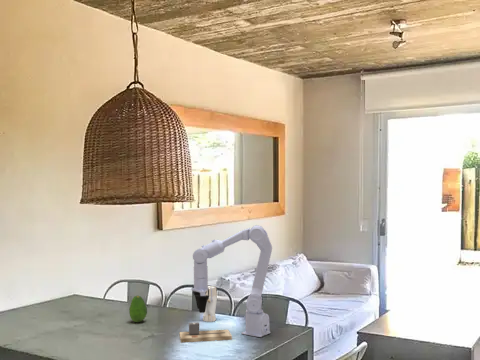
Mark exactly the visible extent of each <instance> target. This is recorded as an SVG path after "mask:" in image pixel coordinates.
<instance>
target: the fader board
mask: <svg viewBox="0 0 480 360" xmlns="http://www.w3.org/2000/svg"><path fill="white" fill-rule="evenodd" d="M178 335H179V339H180V343H181V344H182V343H194V342H195V343H198V342H212V341H213V342H214V341H215V340H217V341H228V340H229V341H232V340H233V336H232V333H231V332H230V331H229V329H214V330H211V329H210V330H199V334H192V335H189V331H180V332H179V334H178Z"/></svg>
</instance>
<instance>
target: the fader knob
mask: <svg viewBox="0 0 480 360" xmlns="http://www.w3.org/2000/svg"><path fill="white" fill-rule="evenodd" d="M199 331H200V322H189V323H188V332H189V335H192V334H199Z"/></svg>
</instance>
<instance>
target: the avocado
mask: <svg viewBox="0 0 480 360" xmlns="http://www.w3.org/2000/svg"><path fill="white" fill-rule="evenodd" d="M147 307H148V306H147V305H146V302H145V299H144V298H143V297H142V296H140V295H139V294H137V295H134V296H133V298H132V299H131V302H130V306H129V310H128V311H129V318H130V319H131V321H132V322H134V323H141V322H142V321H144V320H145V318H146V317H147V314H148V308H147Z"/></svg>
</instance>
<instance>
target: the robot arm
mask: <svg viewBox="0 0 480 360" xmlns="http://www.w3.org/2000/svg"><path fill="white" fill-rule="evenodd" d="M249 240H251V242H253V243H254V244H255V245H256V246H257V248H258V249H259V250H260V253H259V257H258V261H257V265H256V270H255V275H254V277H253V283H252V288H251V290H250V294H249V295H248V296H247V299H246V303H245V307H246V310H245V331H242V332H241V335H246V336H252V337H257V338H262V337H264V336H267V335H268V334H269V335H270V334H271V331H270V316H269V314H268V313H265V312H264V309H262V303H263V299H262V294H263V290H264V285H265V281H266V277H267V273H268V269H269V264H270V260H271V256H272V251H273V246H272V244H271V243H272V242H271V240H270V237H269V235H268V232H267V231H266V229H265V228H264V227H263V226H262V225H257V224H256V225H253V226H252V227H248V228H244V229H242V230H240V231H238V232H236V233H234V234H232V235H231V236H228V237H227V238H225V239H223V240H220V239H212V240H211V242H209V243H207V244H205V245H204V244H202V245H201V247H199V248H197V249H195V251H193V253H192V260H193V287H191V289H190V291H192V293H193V295H194V298H195V302H196V307H197V309H198V311H199V313H200V314H204V312H205V310H206V304H207V301H208V298H209V295H206V292H207V291H208V286H209V278H208V277H209V276H208V274H209V273H208V270H209V269H208V259H212V258H214V257H215V256H218V255H220V254H223V253H224V252H225V248H227V247H229V246H232V245H234V244H236V243H238V242H240V241H249Z"/></svg>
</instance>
